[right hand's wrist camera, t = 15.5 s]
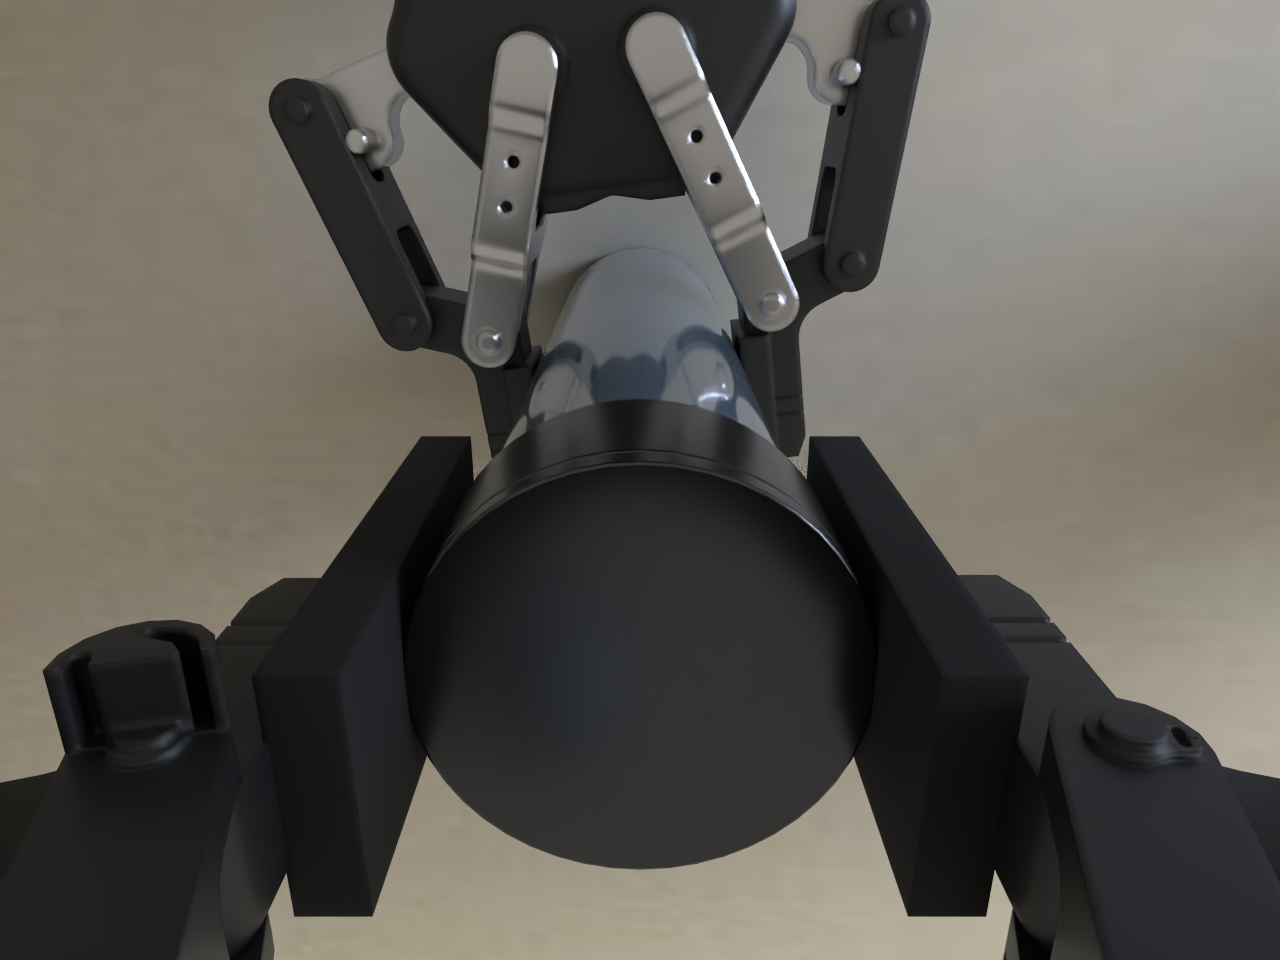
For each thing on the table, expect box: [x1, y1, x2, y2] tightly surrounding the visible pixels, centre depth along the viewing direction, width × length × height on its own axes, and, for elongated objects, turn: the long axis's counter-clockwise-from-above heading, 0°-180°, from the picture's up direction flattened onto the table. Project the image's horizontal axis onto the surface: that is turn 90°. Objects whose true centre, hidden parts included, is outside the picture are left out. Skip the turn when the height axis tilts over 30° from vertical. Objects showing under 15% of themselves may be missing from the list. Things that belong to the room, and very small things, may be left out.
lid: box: [403, 399, 878, 869], centre depth 11 cm, size 5×5×2 cm
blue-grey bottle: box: [502, 248, 778, 450], centre depth 19 cm, size 5×5×19 cm
